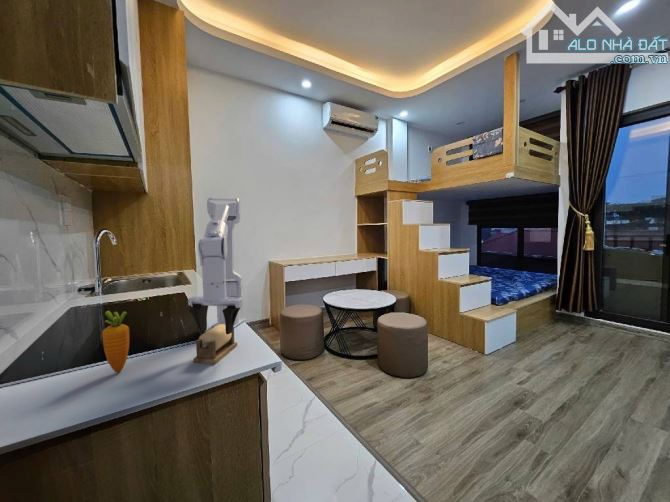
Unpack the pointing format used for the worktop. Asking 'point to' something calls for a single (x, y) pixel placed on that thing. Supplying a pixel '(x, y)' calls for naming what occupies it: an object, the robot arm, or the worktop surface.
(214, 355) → the roll holder
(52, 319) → the worktop surface
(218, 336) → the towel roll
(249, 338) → the worktop surface
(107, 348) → the carrot
